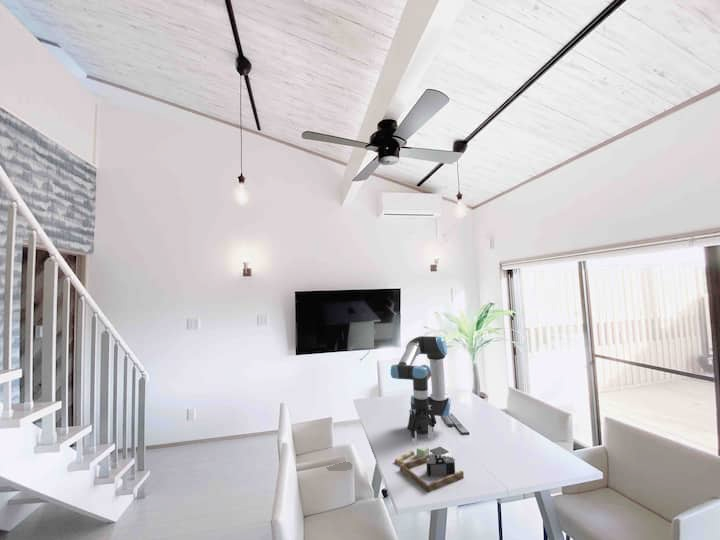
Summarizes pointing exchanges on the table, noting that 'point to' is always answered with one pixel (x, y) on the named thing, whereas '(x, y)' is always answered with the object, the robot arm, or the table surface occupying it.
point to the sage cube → (422, 451)
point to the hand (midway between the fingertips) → (422, 441)
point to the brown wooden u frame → (424, 485)
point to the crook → (404, 458)
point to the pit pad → (439, 450)
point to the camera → (440, 465)
